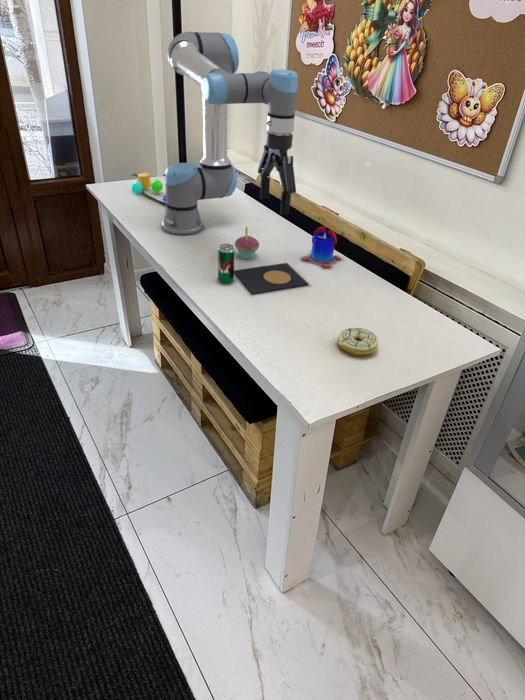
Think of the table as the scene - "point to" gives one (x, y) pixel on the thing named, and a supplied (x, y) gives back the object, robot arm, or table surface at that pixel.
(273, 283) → the mat
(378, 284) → the table surface
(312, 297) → the table surface
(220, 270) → the soda can
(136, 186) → the shape set
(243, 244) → the cupcake
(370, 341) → the decorated donut
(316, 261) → the fantasy tower
